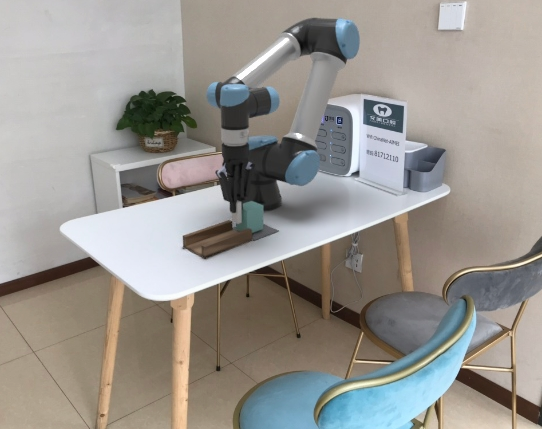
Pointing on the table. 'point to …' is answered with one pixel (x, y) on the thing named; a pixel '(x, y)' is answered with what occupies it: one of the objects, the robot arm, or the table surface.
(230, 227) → the chute
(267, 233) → the mat
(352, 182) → the table surface
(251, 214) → the block
